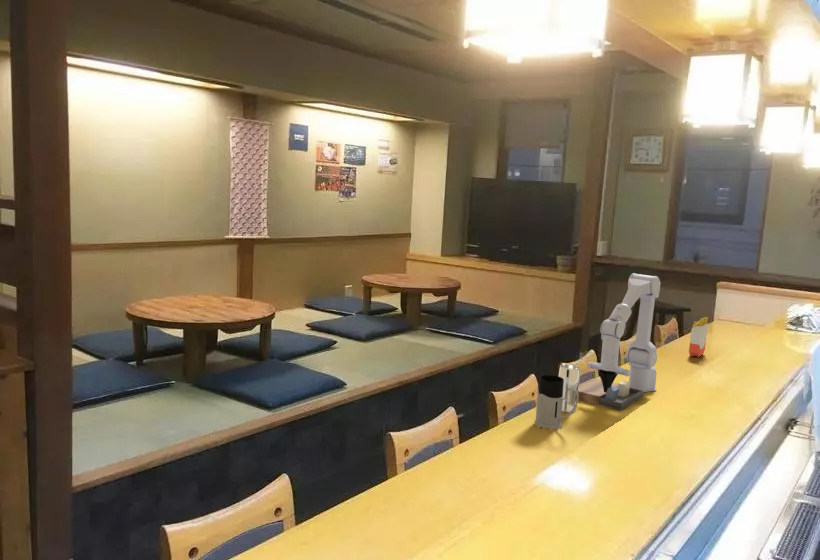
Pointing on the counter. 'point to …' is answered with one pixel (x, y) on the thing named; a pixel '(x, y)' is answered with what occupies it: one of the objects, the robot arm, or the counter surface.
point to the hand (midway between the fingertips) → (606, 391)
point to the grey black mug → (551, 402)
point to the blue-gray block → (612, 393)
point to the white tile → (623, 388)
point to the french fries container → (698, 337)
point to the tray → (623, 399)
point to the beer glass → (569, 385)
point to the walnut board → (592, 391)
